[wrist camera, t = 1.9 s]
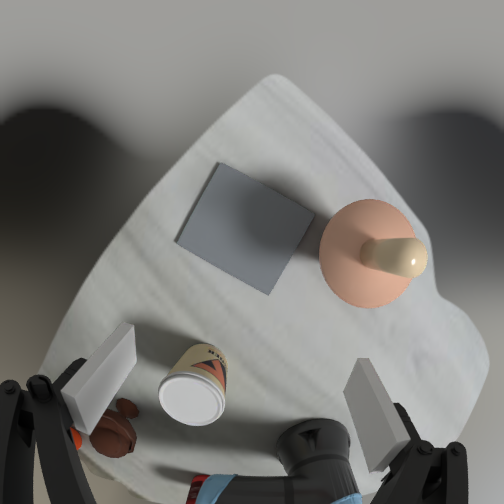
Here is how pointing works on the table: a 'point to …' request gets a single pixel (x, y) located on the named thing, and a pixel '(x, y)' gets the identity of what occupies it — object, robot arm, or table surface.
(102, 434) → the ice cream bowl
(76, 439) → the clementine
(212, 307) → the table surface
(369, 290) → the lid
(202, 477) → the canned food
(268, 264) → the mat
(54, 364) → the table surface
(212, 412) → the coffee cup
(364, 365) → the robot arm
